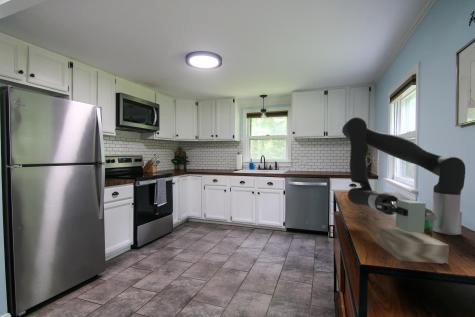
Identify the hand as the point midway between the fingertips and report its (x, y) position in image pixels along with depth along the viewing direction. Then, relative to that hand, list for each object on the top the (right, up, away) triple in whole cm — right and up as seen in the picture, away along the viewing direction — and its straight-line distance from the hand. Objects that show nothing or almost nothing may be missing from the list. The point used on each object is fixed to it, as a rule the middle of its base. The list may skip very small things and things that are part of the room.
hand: (416, 213), depth 80 cm
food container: (+19, -14, +22) cm, 33 cm away
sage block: (0, -6, +3) cm, 7 cm away
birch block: (-1, -14, +3) cm, 14 cm away
